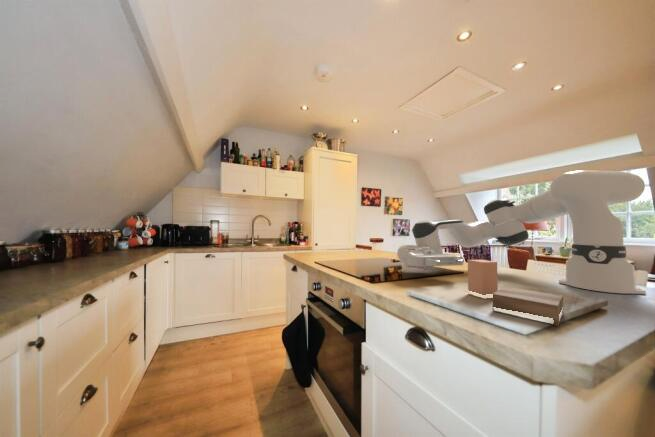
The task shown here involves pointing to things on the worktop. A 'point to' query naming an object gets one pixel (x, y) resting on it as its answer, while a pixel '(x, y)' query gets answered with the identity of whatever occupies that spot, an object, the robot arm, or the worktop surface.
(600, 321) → the worktop surface
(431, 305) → the worktop surface
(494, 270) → the terracotta block
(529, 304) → the walnut base
